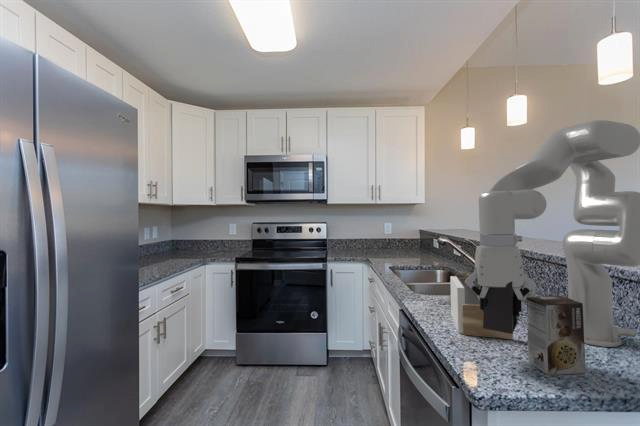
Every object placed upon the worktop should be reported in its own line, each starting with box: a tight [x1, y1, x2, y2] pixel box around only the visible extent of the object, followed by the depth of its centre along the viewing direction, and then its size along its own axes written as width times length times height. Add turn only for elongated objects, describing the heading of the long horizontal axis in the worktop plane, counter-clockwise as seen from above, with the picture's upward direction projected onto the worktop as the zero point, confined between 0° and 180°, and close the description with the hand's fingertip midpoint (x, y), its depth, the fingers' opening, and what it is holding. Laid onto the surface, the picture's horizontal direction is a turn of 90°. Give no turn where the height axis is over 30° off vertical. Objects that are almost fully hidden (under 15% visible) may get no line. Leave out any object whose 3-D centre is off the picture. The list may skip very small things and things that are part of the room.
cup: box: [519, 281, 537, 302], centre depth 126 cm, size 7×10×9 cm
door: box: [462, 304, 514, 340], centre depth 87 cm, size 2×13×9 cm, turn 73°
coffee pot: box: [447, 274, 480, 307], centre depth 110 cm, size 21×12×15 cm, turn 52°
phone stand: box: [483, 282, 519, 335], centre depth 73 cm, size 9×6×12 cm, turn 138°
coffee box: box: [526, 295, 587, 376], centre depth 70 cm, size 9×6×16 cm
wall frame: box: [449, 275, 465, 335], centre depth 99 cm, size 2×18×14 cm, turn 162°
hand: (500, 312), depth 73 cm, fingers closed on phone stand, 6 cm apart
